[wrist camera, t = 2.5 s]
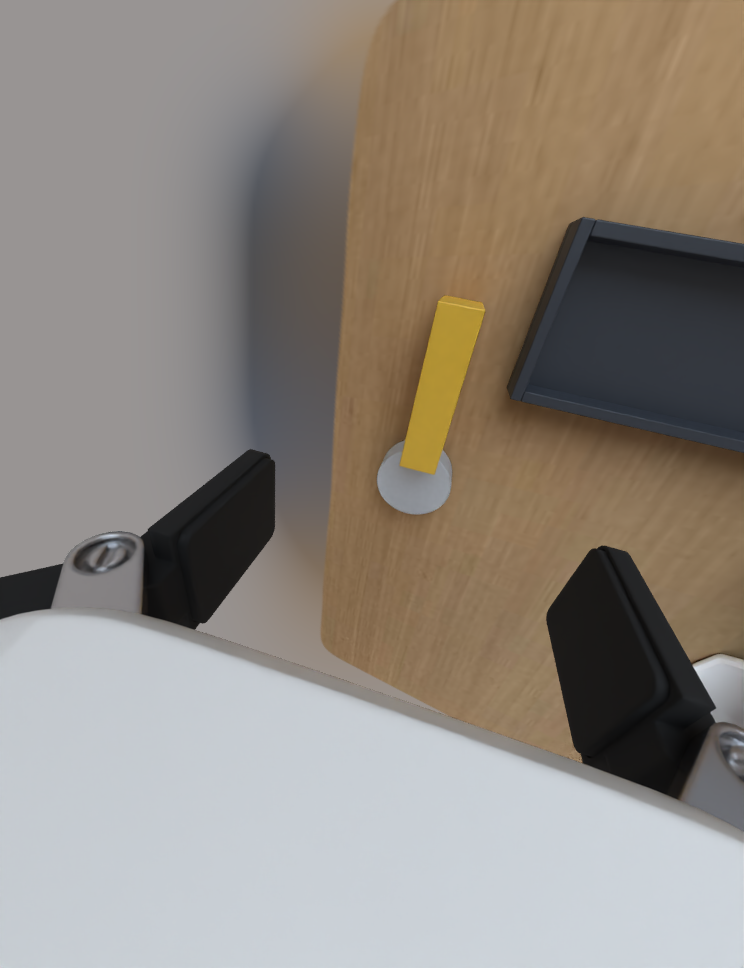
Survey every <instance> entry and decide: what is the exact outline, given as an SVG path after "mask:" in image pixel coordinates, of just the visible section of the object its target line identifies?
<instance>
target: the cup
mask: <svg viewBox="0 0 744 968" xmlns="http://www.w3.org/2000/svg"><path fill="white" fill-rule="evenodd" d="M692 666H693V667H694V669H695V671H696V673H697V674H698V676H699V678H700V680H701V681H702V683H703V685H704V687H705V688H706V690H707V692H708V694H709V695H710V697H711V699H712V701H713V703H714V704H715V706H716V709H714V710H713V711H711V712H710V713H711V714H712V716H713V718H714V720H715V722H716V723H718V722H726V723H731V724H735V725H737V726H739V727H741V728H743V729H744V660H742V659H739V658H735V657H731V656H728V655H724V654H716V655H714V656H711V657H709V658H706V659H704V660H701V661H699V662H696V663H694V664H692Z"/></svg>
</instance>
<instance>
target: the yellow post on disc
mask: <svg viewBox="0 0 744 968" xmlns="http://www.w3.org/2000/svg"><path fill="white" fill-rule="evenodd" d="M484 314H485V309H484V306H483V303H481V302H476V301H471V300H466V299H461V298H456V297H451V296H446V295H444V296H443V297H442V298H441V299H440V300H439V301H438V303H437V308H436V312H435V316H434V320H433V325H432V329H431V333H430V337H429V342H428V346H427V350H426V354H425V358H424V363H423V367H422V371H421V375H420V380H419V384H418V388H417V392H416V397H415V401H414V405H413V409H412V413H411V418H410V422H409V426H408V430H407V435H406V439H405V441H402V442H399V443H397V444H396V445H394V446H393V447H392V448H391V449H390V450H389V451H388V452H387V454H386V455H385V457H384V460H383V462H382V464H381V466H380V468H379V471H378V474H377V485H378V489H379V492H380V494H381V495H382V497H383V498H384V500H385V501H386V502H387V503H388V504H389V505H391V506H392V507H393V508H395V509H397V510H399V511H401V512H404V513H408V514H425V513H429V512H432V511H434V510H436V509H438V508H439V507H440V506H441V505H443V504H444V502H445V501H446V500H447V498H448V496H449V494H450V490H451V481H452V465H451V462H450V460H449V458H448V456H447V455H446V453H445V452H444V451H443V447H444V443H445V440H446V437H447V434H448V431H449V427H450V424H451V421H452V418H453V414H454V411H455V408H456V405H457V401H458V398H459V395H460V392H461V388H462V385H463V382H464V379H465V376H466V372H467V369H468V366H469V363H470V359H471V356H472V353H473V350H474V346H475V343H476V340H477V337H478V333H479V330H480V327H481V324H482V321H483V317H484Z"/></svg>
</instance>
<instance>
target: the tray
mask: <svg viewBox="0 0 744 968" xmlns="http://www.w3.org/2000/svg"><path fill="white" fill-rule="evenodd" d="M507 390H508V393H509V396H510V399H513V400H517V401H521V402H525V403H530V404H534V405H538V406H543V407H547V408H551V409H556V410H560V411H564V412H569V413H573V414H577V415H582V416H586V417H590V418H595V419H599V420H603V421H608V422H612V423H616V424H621V425H625V426H629V427H634V428H638V429H642V430H647V431H651V432H655V433H660V434H664V435H668V436H673V437H677V438H681V439H686V440H690V441H694V442H699V443H703V444H707V445H712V446H716V447H720V448H725V449H729V450H733V451H738V452H742V453H744V244H741V243H735V242H729V241H723V240H717V239H711V238H705V237H699V236H693V235H687V234H681V233H675V232H669V231H663V230H657V229H651V228H645V227H639V226H633V225H627V224H621V223H615V222H609V221H603V220H595V219H591V218H585V217H582V218H580V219H578V220H576V221H574V222H572V223H570V224H569V226H568V229H567V231H566V234H565V237H564V239H563V242H562V244H561V247H560V250H559V252H558V255H557V257H556V260H555V263H554V265H553V268H552V270H551V273H550V276H549V278H548V281H547V283H546V286H545V289H544V291H543V294H542V297H541V299H540V302H539V304H538V307H537V310H536V312H535V315H534V317H533V320H532V323H531V325H530V328H529V330H528V333H527V336H526V338H525V341H524V344H523V346H522V349H521V351H520V354H519V357H518V359H517V362H516V364H515V367H514V370H513V372H512V375H511V377H510V380H509V383H508V385H507Z"/></svg>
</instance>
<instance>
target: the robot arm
mask: <svg viewBox="0 0 744 968" xmlns="http://www.w3.org/2000/svg"><path fill="white" fill-rule="evenodd" d="M274 529H275V462H274V461H273V460H271V458H270V455H269V454H266V453H263V452H259V451H255V450H251V449H250V450H248V451H246V452H245V453H244V454H243V455H242V456H240V457H239V458H238V459H236V460H235V461H234V462H233V463H231V464H230V465H229V466H227V467H226V468H225V469H224V470H222V471H221V472H220V473H218V474H217V475H216V476H215V477H213V478H212V479H211V480H210V481H208V482H207V483H206V484H205V485H203V486H202V487H201V488H199V489H198V490H197V491H196V492H194V493H193V494H192V495H191V496H190V497H188V498H187V499H185V500H184V501H183V502H182V503H180V504H179V505H178V506H177V507H175V508H174V509H173V510H171V511H170V512H169V513H168V514H166V515H165V516H164V517H163V518H161V519H160V520H159V521H157V522H156V523H155V524H154V525H152V526H151V527H150V528H149V529H148V531H147V532H146V533H145V534H144V535H142V536H141V537H139V536H137V535H135V534H133V533H130V532H122V531H118V532H108V533H103V534H99V535H96V536H94V537H91V538H89V539H86V540H84V541H83V542H81V543H79V544H78V545H76V546H75V547H74V548H73V549H72V550H71V551H70V552H69V553H68V555H67V556H66V558H65V560H64V563H63V564H59V565H55V566H50V567H46V568H41V569H37V570H33V571H28V572H24V573H19V574H14V575H10V576H5V577H1V578H0V968H744V729H743V728H741V727H739V726H737V725H735V724H731V723H726V722H718V723H716V722H715V720H714V718H713V716H712V714H711V713H710V712H711V711H713V710H714V709H716V706H715V704H714V703H713V701H712V699H711V697H710V695H709V694H708V692H707V690H706V688H705V687H704V685H703V683H702V681H701V680H700V678H699V676H698V674H697V673H696V671H695V669H694V667H693V666H692V664H691V662H690V660H689V658H688V657H687V655H686V653H685V651H684V650H683V648H682V646H681V644H680V643H679V641H678V639H677V637H676V636H675V634H674V632H673V630H672V629H671V627H670V625H669V623H668V622H667V620H666V618H665V616H664V614H663V613H662V611H661V609H660V607H659V606H658V604H657V602H656V600H655V599H654V597H653V595H652V593H651V592H650V590H649V588H648V586H647V585H646V583H645V581H644V579H643V577H642V576H641V574H640V572H639V570H638V569H637V567H636V565H635V563H634V562H633V560H632V558H631V556H630V555H629V554H628V552H625V551H622V550H618V549H615V548H611V547H607V546H600V547H598V548H597V549H591V550H590V551H589V552H588V554H587V555H586V557H585V558H584V560H583V561H582V562H581V564H580V565H579V567H578V568H577V569H576V571H575V572H574V574H573V575H572V577H571V578H570V579H569V581H568V582H567V584H566V585H565V587H564V588H563V589H562V591H561V592H560V594H559V595H558V596H557V598H556V599H555V601H554V602H553V604H552V605H551V606H550V608H549V610H548V612H547V617H546V620H547V626H548V630H549V635H550V640H551V644H552V649H553V653H554V658H555V662H556V667H557V672H558V676H559V681H560V685H561V690H562V694H563V699H564V704H565V708H566V713H567V717H568V722H569V727H570V731H571V736H572V740H573V744H574V747H575V749H576V751H577V752H578V753H581V756H582V761H583V763H580V762H577V761H574V760H572V759H569V758H566V757H563V756H560V755H557V754H555V753H552V752H549V751H546V750H543V749H540V748H538V747H535V746H532V745H529V744H526V743H523V742H520V741H518V740H515V739H512V738H509V737H506V736H503V735H501V734H498V733H495V732H492V731H489V730H486V729H484V728H481V727H478V726H475V725H472V724H469V723H466V722H464V721H461V720H458V719H455V718H452V717H449V716H446V715H444V714H441V713H437V712H435V711H432V710H429V709H426V708H423V707H420V706H418V705H415V704H412V703H409V702H406V701H403V700H400V699H397V698H395V697H391V696H389V695H386V694H383V693H380V692H377V691H374V690H371V689H368V688H366V687H363V686H360V685H357V684H354V683H351V682H348V681H345V680H342V679H340V678H336V677H334V676H331V675H328V674H325V673H322V672H319V671H316V670H313V669H310V668H307V667H304V666H301V665H299V664H296V663H293V662H290V661H287V660H283V659H281V658H278V657H275V656H272V655H269V654H266V653H263V652H260V651H257V650H254V649H251V648H249V647H246V646H243V645H240V644H237V643H234V642H231V641H228V640H225V639H222V638H218V637H215V636H212V635H209V634H206V633H203V632H200V631H197V630H195V629H196V627H197V626H198V625H199V623H206V622H207V621H208V620H209V619H210V617H211V616H212V615H213V613H214V612H215V611H216V609H217V608H218V607H219V605H220V604H221V603H222V601H223V600H224V599H225V598H226V596H227V595H228V594H229V592H230V591H231V590H232V588H233V587H234V586H235V584H236V583H237V582H238V581H239V579H240V578H241V577H242V575H243V574H244V572H245V571H246V570H247V569H248V567H249V566H250V565H251V563H252V562H253V561H254V560H255V558H256V557H257V556H258V554H259V553H260V552H261V550H262V549H263V548H264V546H265V545H266V544H267V542H268V541H269V540H270V538H271V537H272V535H273V532H274Z"/></svg>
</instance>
